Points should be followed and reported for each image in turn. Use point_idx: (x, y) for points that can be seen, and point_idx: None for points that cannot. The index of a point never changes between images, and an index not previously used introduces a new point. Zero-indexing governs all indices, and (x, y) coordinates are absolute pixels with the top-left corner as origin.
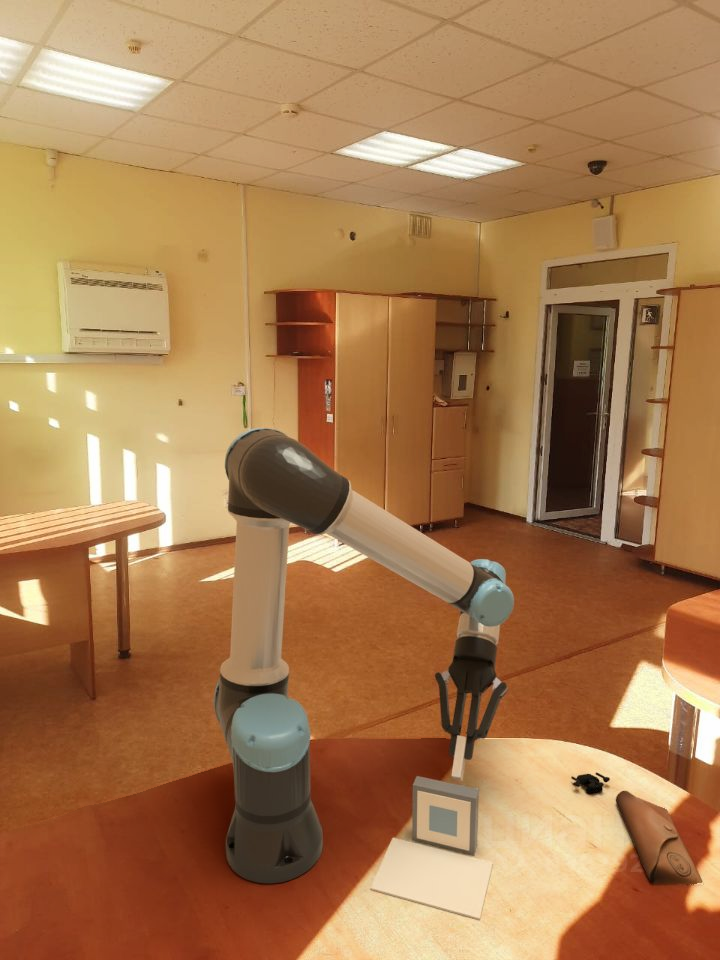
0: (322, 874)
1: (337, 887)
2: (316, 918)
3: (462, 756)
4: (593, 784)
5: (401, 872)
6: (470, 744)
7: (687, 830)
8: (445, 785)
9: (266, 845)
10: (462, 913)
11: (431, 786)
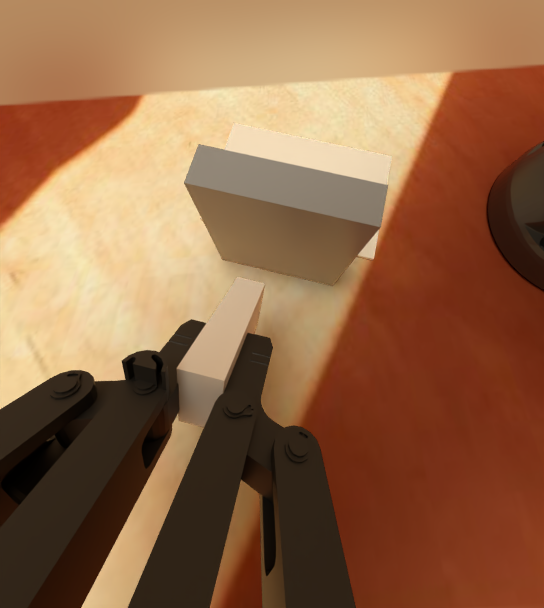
0: (469, 179)
1: (439, 159)
2: (452, 111)
3: (218, 312)
4: None
5: None
6: (168, 355)
7: None
8: (286, 191)
9: None
10: (257, 128)
11: (329, 181)
